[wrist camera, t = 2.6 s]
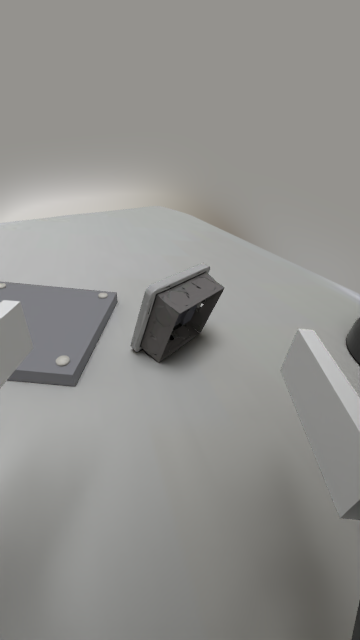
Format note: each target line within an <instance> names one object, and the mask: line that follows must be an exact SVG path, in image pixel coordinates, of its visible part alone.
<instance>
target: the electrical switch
mask: <svg viewBox="0 0 360 640" xmlns="http://www.w3.org/2000/svg"><path fill="white" fill-rule="evenodd" d="M209 271H210V266H208V265H206V264H205V263H201V264H199V265H196V266H194V267H192V268H189V269H187V270H184V271H182V272H179V273H177V274H175V275H172V276H170V277H167V278H165V279H163V280H160V281H158V282H155V283H153V284H151V285H150V286H149V287H148V288H147V289H146V291H145V294H144V298H143V301H142V305H141V309H140V312H139V316H138V320H137V323H136V327H135V331H134V334H133V338H132V342H131V347H132V348H133V349H134V350H135V351H136V352H138V351H140V350H141V349H144V350H145V351H146V352H147V353H148V354H149V355H151V356H152V357H153V358H154V359H155V360H156V361H157V362H158V363H159V362H160V361H162V360H163V359H165V358H166V357H167V356H169V355H170V354H172V353H173V352H174V351H176V350H177V349H179V348H180V347H181V346H183V345H184V344H186V343H187V342H188V341H190V340H191V339H192V338H194V337H195V336H197V335H198V334H199V333H201V331H202V329H203V327H204V325H205V323H206V321H207V320H208V318H209V316H210V314H211V312H212V310H213V308H214V307H215V305H216V303H217V301H218V299H219V297H220V295H221V294H222V292H223V290H224V287H223V286H222V285H220V284H219V283H217V282H216V281H215V280H214V279H213V278H212V277H211V276H210V275H209V274H208V272H209ZM201 303H203V304H204V305H203V306H202V307H200V305H201ZM184 324H185V325H184ZM199 325H200V326H199ZM188 329H189V330H188ZM195 329H196V330H197V331H198V332H197V331H196V330H195ZM174 331H175V332H174ZM170 335H172V336H173V337H174V340H171V339H169V337H170ZM178 336H179V337H180V338H178ZM189 336H190V337H189ZM167 342H168V343H167ZM169 350H170V351H169Z"/></svg>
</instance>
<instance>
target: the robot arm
mask: <svg viewBox="0 0 360 640" xmlns="http://www.w3.org/2000/svg"><path fill="white" fill-rule="evenodd" d="M347 346H348V348H349V350H350V352H351V354H352V355H353V357H354V358H355V359H356V360H357V361H358V363H359V364H360V318H359V319H357V321H356V322H355V323H354V325H353V326H352V328H351V330H350V332H349V334H348V336H347ZM32 348H33V344H32V341H31V337H30V334H29V330H28V327H27V323H26V320H25V316H24V313H23V309H22V306H21V302H20V301H9V300H3V301H2V302H1V303H0V388H1V387H2V386H3V384H4V383H5V382H6V381H7V379H8V378H9V377H10V376H11V374H12V373H13V372H14V371H15V369H16V368H17V367H18V366H19V364H20V363H21V362H22V361H23V360H24V358H25V357H26V356H27V355H28V353H29V352H30V351H31V350H32ZM280 371H281V373H282V376H283V378H284V381H285V383H286V386H287V388H288V391H289V393H290V396H291V398H292V401H293V403H294V406H295V408H296V411H297V413H298V416H299V418H300V421H301V423H302V426H303V428H304V430H305V433H306V435H307V438H308V440H309V443H310V445H311V448H312V450H313V453H314V455H315V458H316V460H317V463H318V465H319V468H320V470H321V473H322V475H323V478H324V480H325V483H326V485H327V488H328V490H329V492H330V495H331V497H332V500H333V502H334V505H335V507H336V510H337V512H338V515H339V517H340V518H344V519H356V520H360V397H359V396H358V394H357V393H356V391H355V390H354V388H353V387H352V385H351V384H350V383H349V381H348V380H347V378H346V377H345V375H344V374H343V372H342V371H341V369H340V368H339V366H338V365H337V363H336V362H335V360H334V359H333V358H332V356H331V355H330V353H329V352H328V350H327V349H326V347H325V346H324V344H323V343H322V341H321V340H320V338H319V337H318V335H317V334H316V333H315V331H314V330H308V329H297V332H296V334H295V337H294V339H293V341H292V344H291V346H290V348H289V351H288V353H287V356H286V358H285V360H284V363H283V365H282V367H281V370H280ZM352 640H360V602H359V606H358V611H357V616H356V621H355V626H354V631H353V635H352Z"/></svg>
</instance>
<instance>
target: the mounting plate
mask: <svg viewBox="0 0 360 640" xmlns="http://www.w3.org/2000/svg"><path fill="white" fill-rule="evenodd" d="M3 300H9V301H20V302H21V306H22V309H23V313H24V316H25V320H26V323H27V327H28V330H29V334H30V337H31V341H32V344H33V348H32V350H31V351H30V352H29V353H28V355H27V356H26V357H25V358H24V360H23V361H22V362H21V363H20V364H19V366H18V367H17V368H16V369H15V371H14V372H13V373H12V374H11V376H10V377H9V378H8V379H7V380H12V381H23V382H34V383H45V384H56V385H67V386H75V385H76V383H77V381H78V379H79V377H80V375H81V373H82V371H83V369H84V367H85V365H86V363H87V361H88V359H89V357H90V355H91V353H92V351H93V349H94V347H95V345H96V343H97V341H98V339H99V337H100V335H101V333H102V331H103V329H104V327H105V325H106V323H107V321H108V319H109V317H110V315H111V313H112V311H113V309H114V307H115V305H116V303H117V293H116V292H105V291H95V290H84V289H73V288H63V287H52V286H41V285H31V284H20V283H9V282H0V303H1V302H2V301H3Z"/></svg>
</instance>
